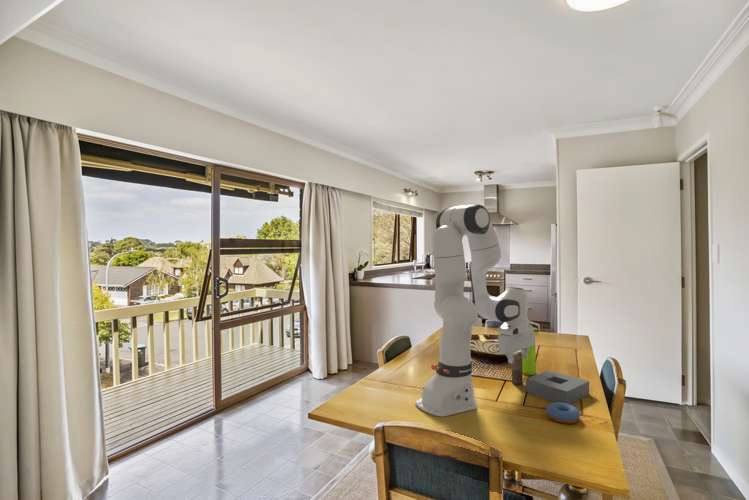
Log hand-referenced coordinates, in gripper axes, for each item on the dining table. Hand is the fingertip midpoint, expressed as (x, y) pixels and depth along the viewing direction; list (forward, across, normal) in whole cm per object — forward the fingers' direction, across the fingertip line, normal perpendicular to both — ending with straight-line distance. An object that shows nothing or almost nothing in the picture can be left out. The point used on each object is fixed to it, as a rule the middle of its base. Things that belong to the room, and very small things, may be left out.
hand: (518, 360), depth 156 cm
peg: (+9, +1, 0) cm, 9 cm away
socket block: (+10, -2, +15) cm, 18 cm away
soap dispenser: (+10, -14, -4) cm, 18 cm away
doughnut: (+10, +16, +27) cm, 33 cm away
